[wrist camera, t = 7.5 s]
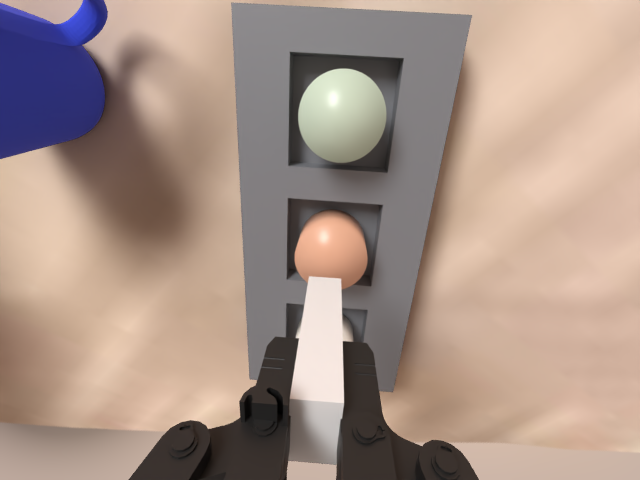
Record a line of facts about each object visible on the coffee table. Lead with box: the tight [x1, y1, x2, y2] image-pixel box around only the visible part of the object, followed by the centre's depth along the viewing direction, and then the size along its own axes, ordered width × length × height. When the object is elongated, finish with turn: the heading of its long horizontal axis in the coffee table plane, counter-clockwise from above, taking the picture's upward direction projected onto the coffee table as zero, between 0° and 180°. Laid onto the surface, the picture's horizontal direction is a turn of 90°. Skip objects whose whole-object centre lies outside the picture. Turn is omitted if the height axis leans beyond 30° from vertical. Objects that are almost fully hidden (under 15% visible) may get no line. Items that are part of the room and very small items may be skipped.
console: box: [231, 3, 472, 392], centre depth 23 cm, size 12×26×3 cm, turn 177°
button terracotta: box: [295, 209, 368, 290], centre depth 21 cm, size 4×4×3 cm
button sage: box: [298, 69, 386, 163], centre depth 17 cm, size 4×4×3 cm
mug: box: [0, 0, 108, 159], centre depth 16 cm, size 8×12×10 cm
